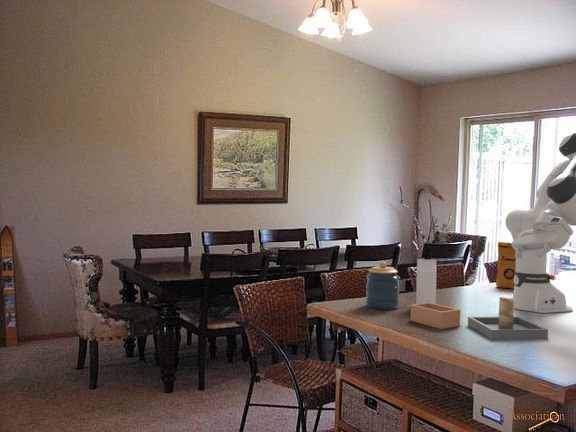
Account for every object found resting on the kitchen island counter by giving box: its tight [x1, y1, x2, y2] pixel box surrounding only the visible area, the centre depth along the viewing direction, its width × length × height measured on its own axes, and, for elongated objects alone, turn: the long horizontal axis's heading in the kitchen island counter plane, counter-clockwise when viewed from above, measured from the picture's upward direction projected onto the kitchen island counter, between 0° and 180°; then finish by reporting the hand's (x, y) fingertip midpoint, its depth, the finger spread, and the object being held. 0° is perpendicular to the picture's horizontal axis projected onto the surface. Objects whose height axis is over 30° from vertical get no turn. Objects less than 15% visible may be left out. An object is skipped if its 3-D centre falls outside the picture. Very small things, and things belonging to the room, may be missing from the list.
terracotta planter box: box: [410, 303, 461, 330], centre depth 193 cm, size 9×14×6 cm, turn 32°
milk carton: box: [415, 258, 438, 304], centre depth 217 cm, size 7×7×19 cm
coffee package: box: [495, 241, 516, 290], centre depth 268 cm, size 10×12×22 cm
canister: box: [365, 261, 401, 311], centre depth 220 cm, size 13×13×18 cm
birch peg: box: [498, 296, 515, 329], centre depth 182 cm, size 4×4×10 cm
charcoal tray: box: [467, 316, 549, 341], centre depth 182 cm, size 18×18×3 cm
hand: (528, 257), depth 187 cm, fingers open, 8 cm apart
